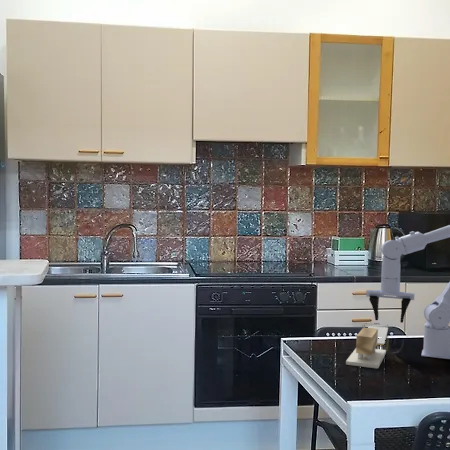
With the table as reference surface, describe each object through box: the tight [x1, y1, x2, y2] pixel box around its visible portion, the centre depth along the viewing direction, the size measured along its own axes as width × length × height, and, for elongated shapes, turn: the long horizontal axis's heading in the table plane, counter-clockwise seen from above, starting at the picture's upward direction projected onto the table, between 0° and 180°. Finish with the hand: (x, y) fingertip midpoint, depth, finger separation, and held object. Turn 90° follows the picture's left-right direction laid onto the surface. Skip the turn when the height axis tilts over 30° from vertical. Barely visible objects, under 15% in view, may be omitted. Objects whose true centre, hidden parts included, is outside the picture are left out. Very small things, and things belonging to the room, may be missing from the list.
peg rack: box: [345, 347, 387, 369], centre depth 170 cm, size 9×20×3 cm, turn 158°
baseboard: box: [362, 322, 389, 346], centre depth 203 cm, size 30×3×10 cm
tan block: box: [355, 326, 378, 355], centre depth 170 cm, size 4×14×5 cm, turn 158°
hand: (389, 320), depth 179 cm, fingers open, 7 cm apart
